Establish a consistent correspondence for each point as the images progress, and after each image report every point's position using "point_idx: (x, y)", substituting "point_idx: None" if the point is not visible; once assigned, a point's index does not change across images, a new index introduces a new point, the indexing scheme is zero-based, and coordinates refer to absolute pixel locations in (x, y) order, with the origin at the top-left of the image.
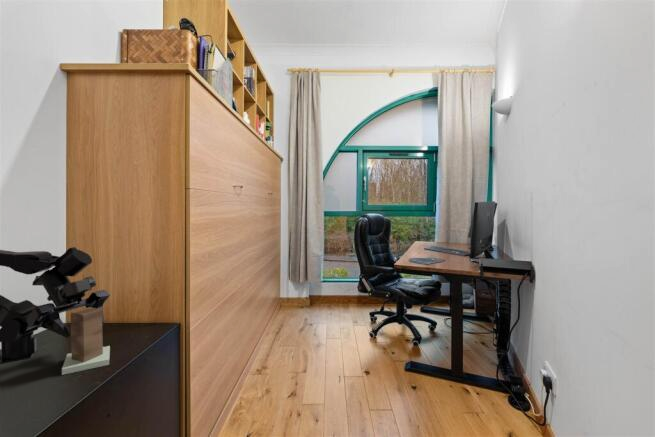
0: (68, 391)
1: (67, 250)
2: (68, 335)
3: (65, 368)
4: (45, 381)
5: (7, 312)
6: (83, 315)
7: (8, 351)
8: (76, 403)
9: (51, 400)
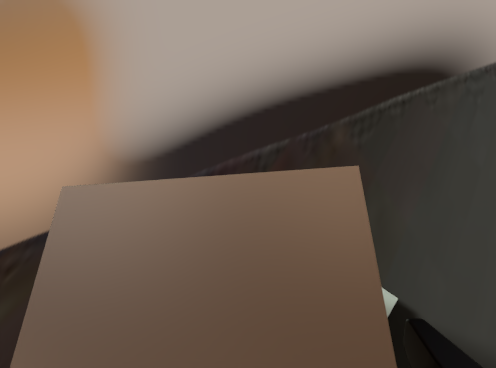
0: (421, 161)
1: None
2: (420, 320)
3: (384, 290)
4: (449, 318)
5: None
6: (356, 167)
7: None
8: (432, 85)
9: (476, 155)
